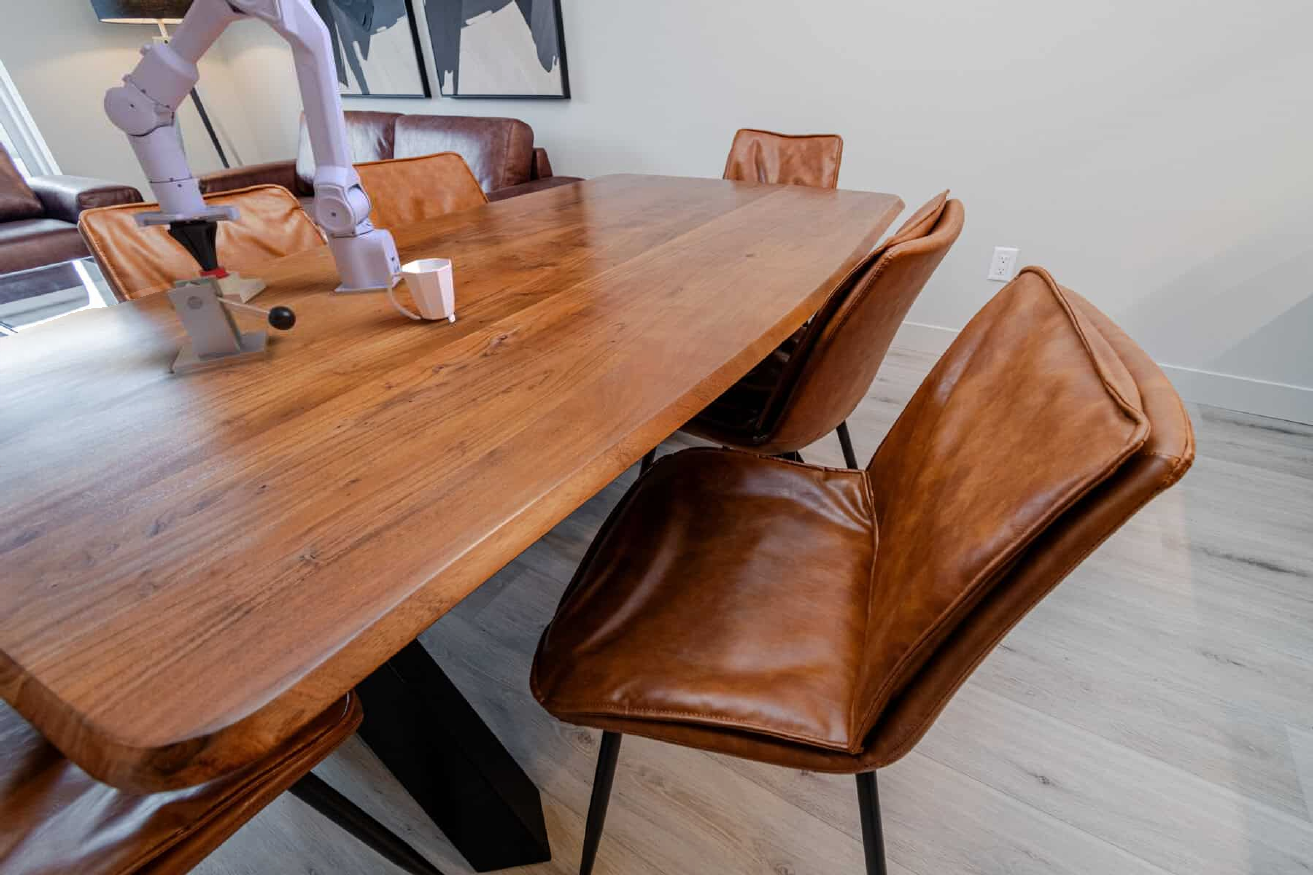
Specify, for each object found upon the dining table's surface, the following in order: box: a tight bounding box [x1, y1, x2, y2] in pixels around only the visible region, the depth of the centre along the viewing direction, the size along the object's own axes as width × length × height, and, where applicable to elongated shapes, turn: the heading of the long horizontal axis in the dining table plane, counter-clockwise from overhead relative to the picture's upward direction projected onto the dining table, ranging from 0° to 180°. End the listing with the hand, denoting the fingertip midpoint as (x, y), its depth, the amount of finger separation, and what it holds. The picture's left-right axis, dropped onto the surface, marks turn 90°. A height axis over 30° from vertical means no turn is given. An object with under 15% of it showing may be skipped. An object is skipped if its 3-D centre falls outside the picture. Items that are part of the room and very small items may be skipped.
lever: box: [185, 282, 297, 331], centre depth 77 cm, size 12×3×3 cm, turn 116°
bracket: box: [166, 275, 270, 374], centre depth 76 cm, size 10×8×10 cm
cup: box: [386, 257, 456, 323], centre depth 84 cm, size 7×10×8 cm
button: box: [198, 265, 228, 280], centre depth 98 cm, size 4×4×2 cm
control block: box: [198, 270, 266, 304], centre depth 99 cm, size 10×8×4 cm
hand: (211, 269), depth 97 cm, fingers closed, pressing on button
